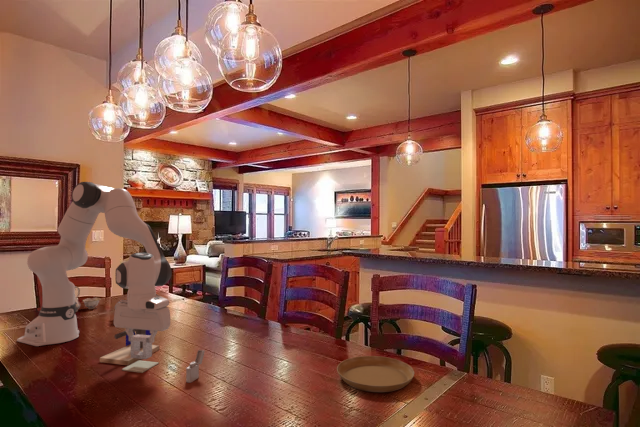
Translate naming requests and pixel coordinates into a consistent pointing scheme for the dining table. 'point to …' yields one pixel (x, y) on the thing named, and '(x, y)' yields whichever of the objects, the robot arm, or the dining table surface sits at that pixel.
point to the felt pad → (140, 366)
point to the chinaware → (86, 301)
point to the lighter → (194, 367)
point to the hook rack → (125, 351)
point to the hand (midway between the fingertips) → (141, 341)
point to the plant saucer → (375, 373)
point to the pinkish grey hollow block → (136, 347)
